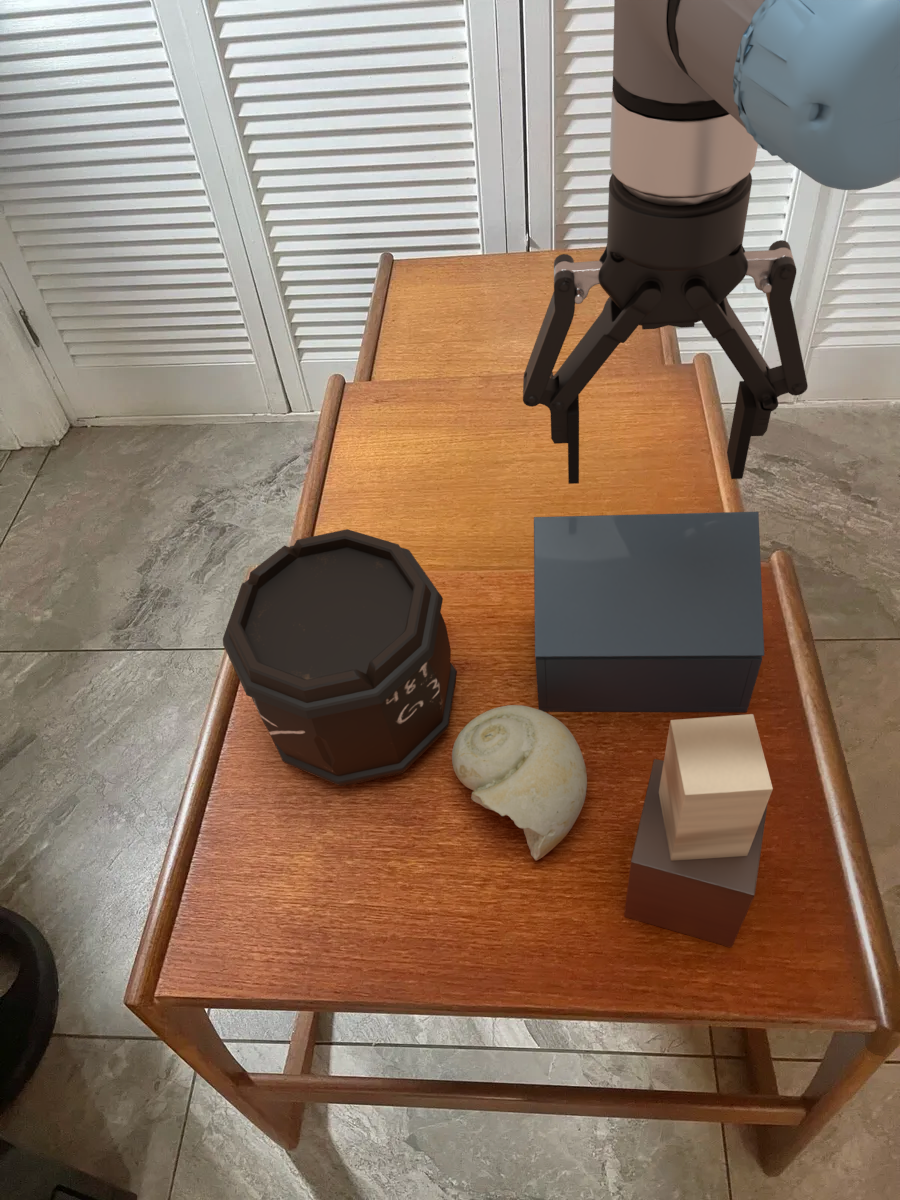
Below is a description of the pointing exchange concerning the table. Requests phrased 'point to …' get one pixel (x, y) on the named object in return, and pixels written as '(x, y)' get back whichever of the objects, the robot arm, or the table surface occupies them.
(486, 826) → the table surface
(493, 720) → the seashell
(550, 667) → the chest
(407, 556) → the octagonal dark pot
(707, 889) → the plinth
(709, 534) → the lid
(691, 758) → the block
